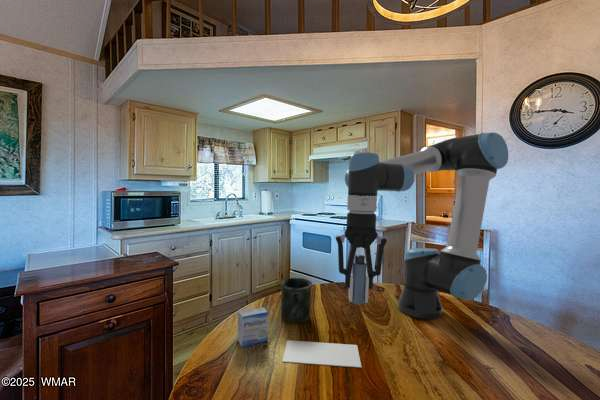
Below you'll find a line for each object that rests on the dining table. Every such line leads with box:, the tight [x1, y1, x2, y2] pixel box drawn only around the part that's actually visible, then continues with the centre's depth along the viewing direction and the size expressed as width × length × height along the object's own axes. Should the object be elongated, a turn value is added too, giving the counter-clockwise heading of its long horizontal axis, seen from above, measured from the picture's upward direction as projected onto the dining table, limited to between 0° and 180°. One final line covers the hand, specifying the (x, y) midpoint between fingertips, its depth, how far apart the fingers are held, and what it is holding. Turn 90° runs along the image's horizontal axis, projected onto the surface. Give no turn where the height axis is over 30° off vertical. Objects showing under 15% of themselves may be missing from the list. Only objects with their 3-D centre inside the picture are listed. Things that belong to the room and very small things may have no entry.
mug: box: [280, 277, 313, 324], centre depth 96 cm, size 11×15×12 cm
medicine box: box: [237, 306, 269, 348], centre depth 82 cm, size 8×4×9 cm, turn 117°
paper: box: [282, 339, 363, 369], centre depth 77 cm, size 20×10×1 cm, turn 85°
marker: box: [351, 254, 367, 306], centre depth 75 cm, size 3×3×12 cm
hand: (358, 299), depth 75 cm, fingers closed on marker, 3 cm apart
